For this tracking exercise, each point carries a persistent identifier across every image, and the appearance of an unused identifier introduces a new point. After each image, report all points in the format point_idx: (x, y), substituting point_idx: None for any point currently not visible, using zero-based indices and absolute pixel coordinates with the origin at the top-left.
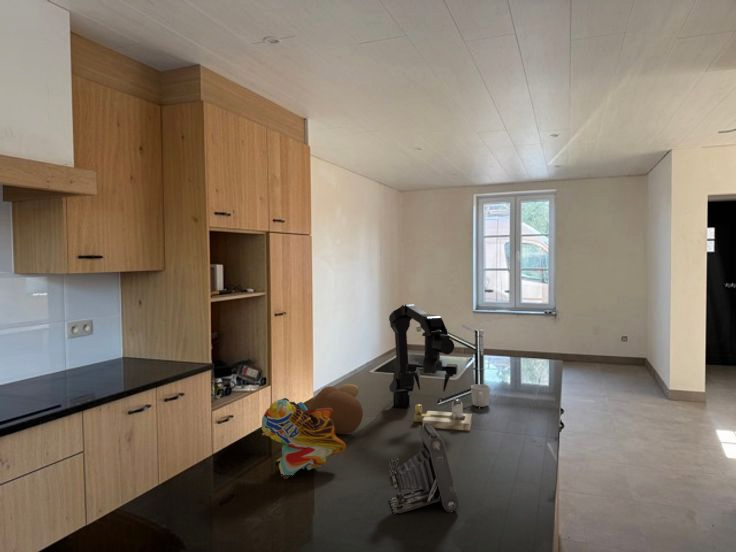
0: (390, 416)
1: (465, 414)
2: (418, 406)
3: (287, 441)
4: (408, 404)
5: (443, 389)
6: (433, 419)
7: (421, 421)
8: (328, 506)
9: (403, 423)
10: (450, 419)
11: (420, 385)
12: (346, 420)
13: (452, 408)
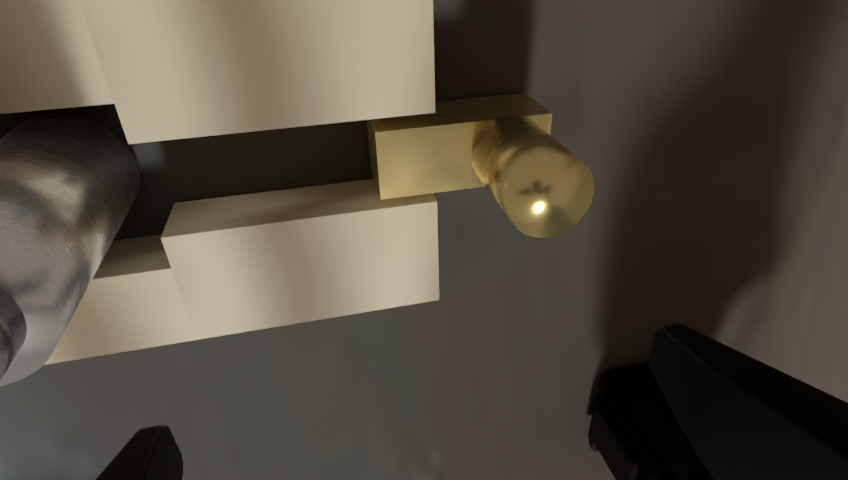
0: (729, 165)
1: None
2: (548, 153)
3: None
4: (607, 410)
5: (148, 459)
6: (302, 29)
7: (454, 102)
8: None
9: (621, 6)
10: (90, 105)
11: (688, 428)
12: None
13: (39, 219)
